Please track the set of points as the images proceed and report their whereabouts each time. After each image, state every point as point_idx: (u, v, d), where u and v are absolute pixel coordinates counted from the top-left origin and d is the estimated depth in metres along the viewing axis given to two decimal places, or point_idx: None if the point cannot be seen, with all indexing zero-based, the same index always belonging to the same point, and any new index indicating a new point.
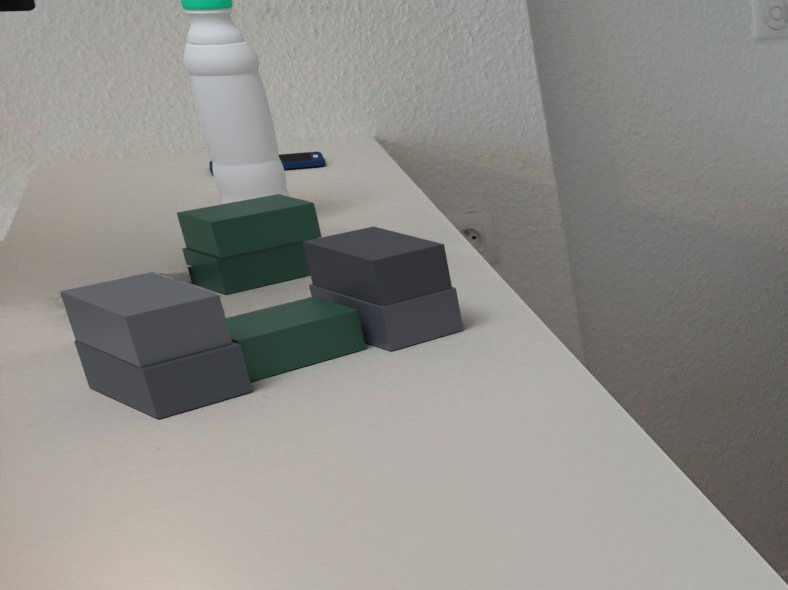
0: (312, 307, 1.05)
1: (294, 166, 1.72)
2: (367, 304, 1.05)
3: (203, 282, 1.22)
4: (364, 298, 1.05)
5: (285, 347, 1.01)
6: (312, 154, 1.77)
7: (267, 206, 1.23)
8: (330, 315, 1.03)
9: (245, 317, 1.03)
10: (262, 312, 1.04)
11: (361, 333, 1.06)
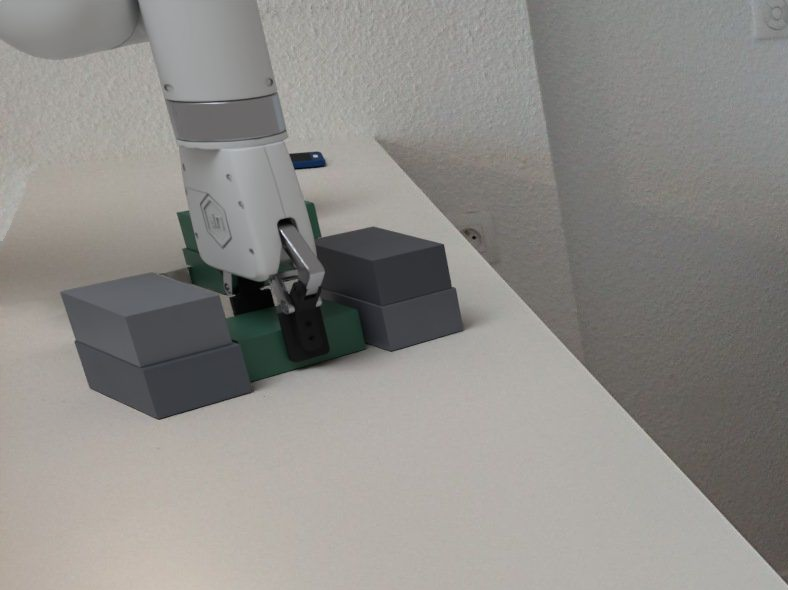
0: None
1: (294, 166, 1.72)
2: (367, 304, 1.05)
3: (203, 282, 1.22)
4: (364, 298, 1.05)
5: (285, 347, 1.01)
6: (312, 154, 1.77)
7: None
8: (330, 315, 1.03)
9: (245, 317, 1.03)
10: (262, 312, 1.04)
11: (361, 333, 1.06)
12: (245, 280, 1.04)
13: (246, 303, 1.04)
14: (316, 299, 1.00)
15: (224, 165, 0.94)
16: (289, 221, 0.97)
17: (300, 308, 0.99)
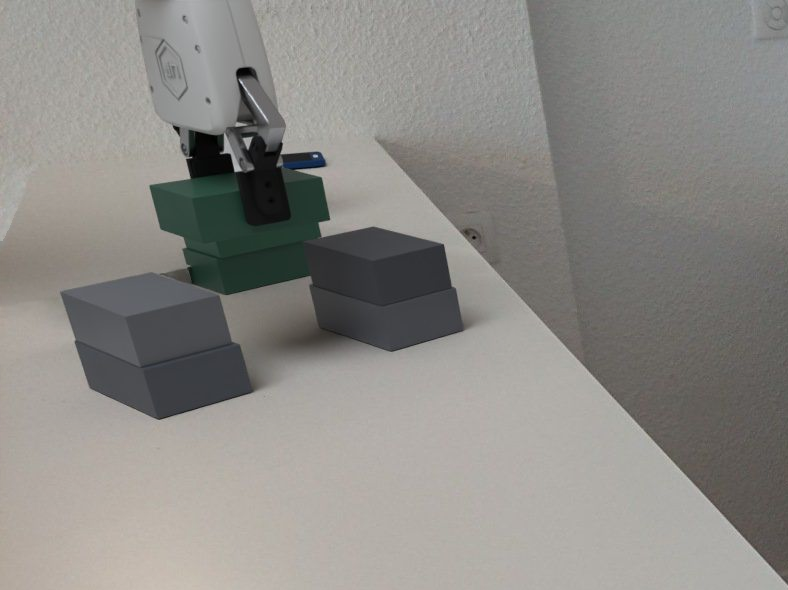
0: None
1: (294, 166, 1.72)
2: (367, 304, 1.05)
3: (203, 282, 1.22)
4: (364, 298, 1.05)
5: None
6: (312, 154, 1.77)
7: None
8: (293, 180, 0.98)
9: (202, 180, 0.98)
10: (221, 177, 0.99)
11: (325, 203, 1.01)
12: (203, 142, 0.99)
13: (204, 166, 0.99)
14: (277, 158, 0.95)
15: (180, 5, 0.89)
16: (249, 72, 0.92)
17: (259, 166, 0.94)
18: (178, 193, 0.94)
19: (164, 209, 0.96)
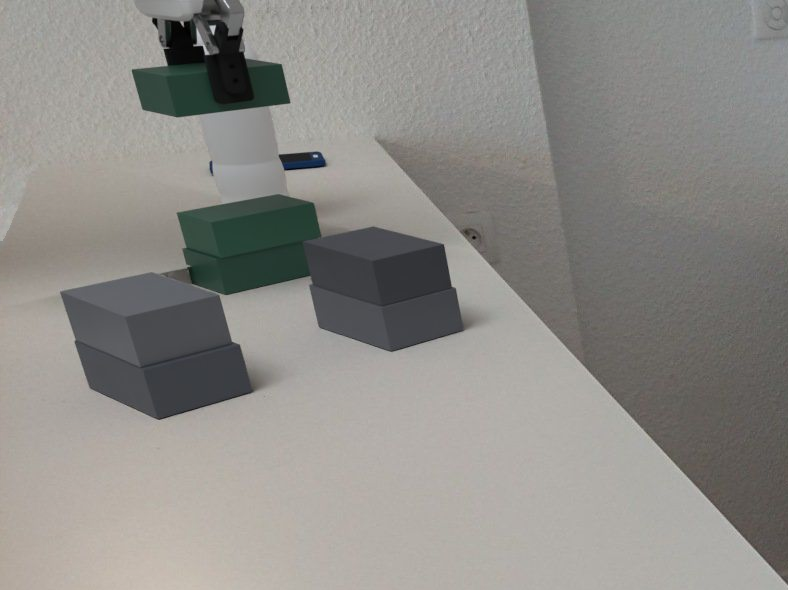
0: None
1: (294, 166, 1.72)
2: (367, 304, 1.05)
3: (203, 282, 1.22)
4: (364, 298, 1.05)
5: None
6: (312, 154, 1.77)
7: (267, 206, 1.23)
8: (256, 66, 1.13)
9: (178, 66, 1.13)
10: (194, 64, 1.14)
11: (285, 87, 1.15)
12: (179, 35, 1.14)
13: (179, 55, 1.13)
14: (239, 42, 1.09)
15: None
16: None
17: (224, 50, 1.09)
18: (155, 73, 1.08)
19: (144, 90, 1.11)
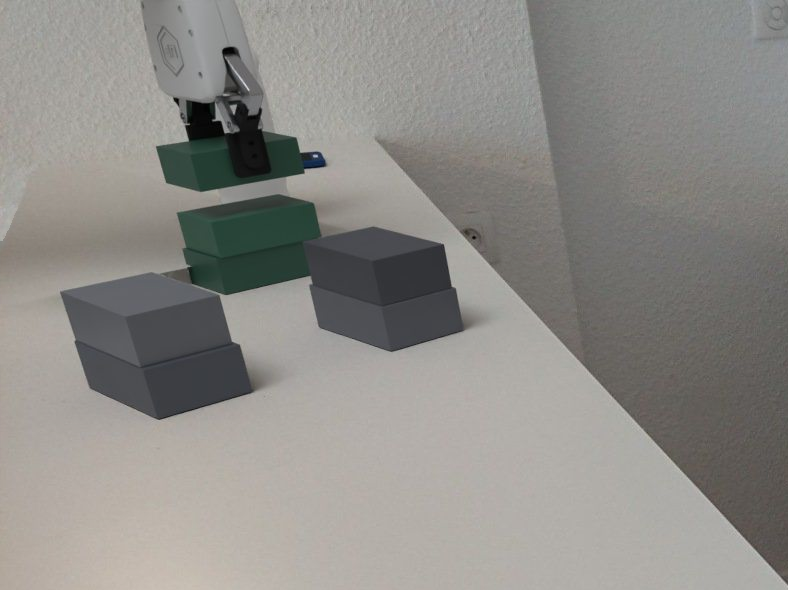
0: None
1: None
2: (367, 304, 1.05)
3: (203, 282, 1.22)
4: (364, 298, 1.05)
5: None
6: (312, 154, 1.77)
7: (267, 206, 1.23)
8: (272, 140, 1.20)
9: (199, 141, 1.20)
10: (214, 139, 1.21)
11: (300, 159, 1.22)
12: (198, 111, 1.21)
13: (199, 131, 1.21)
14: (257, 121, 1.16)
15: None
16: (233, 50, 1.14)
17: (244, 128, 1.16)
18: (179, 151, 1.16)
19: (168, 165, 1.18)
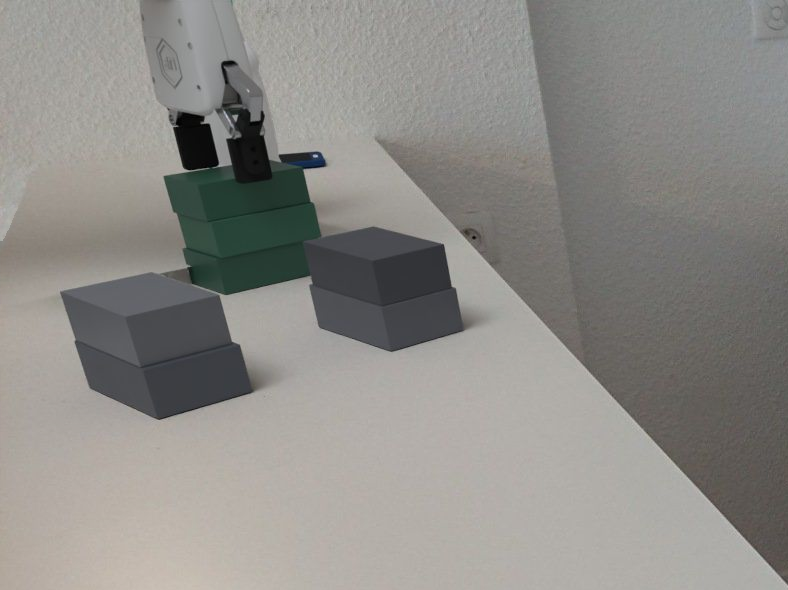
0: None
1: None
2: (367, 304, 1.05)
3: (203, 282, 1.22)
4: (364, 298, 1.05)
5: (239, 194, 1.19)
6: (312, 154, 1.77)
7: None
8: (279, 170, 1.21)
9: (206, 171, 1.21)
10: (221, 168, 1.22)
11: (306, 188, 1.24)
12: (187, 114, 1.21)
13: (187, 133, 1.21)
14: (260, 127, 1.15)
15: (176, 11, 1.11)
16: None
17: (246, 134, 1.15)
18: (186, 181, 1.17)
19: (176, 195, 1.19)
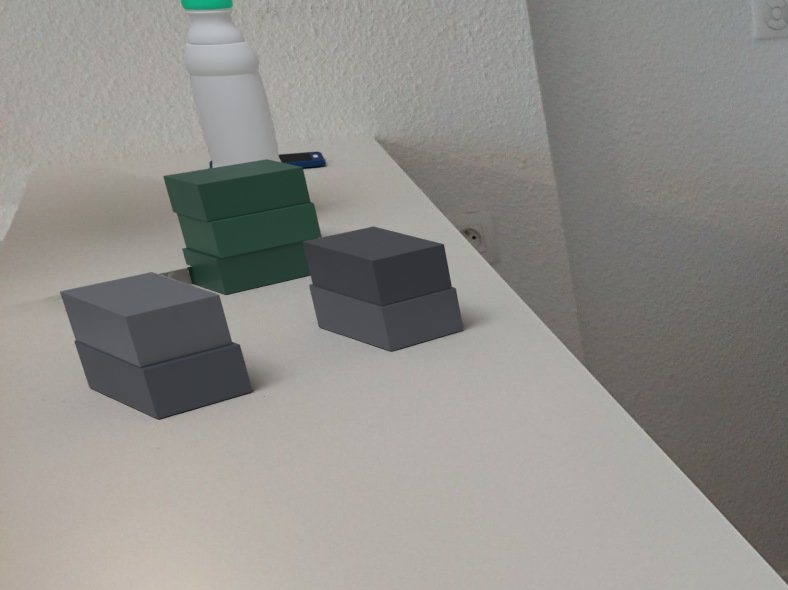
0: (264, 165, 1.23)
1: None
2: (367, 304, 1.05)
3: (203, 282, 1.22)
4: (364, 298, 1.05)
5: (239, 194, 1.19)
6: (312, 154, 1.77)
7: None
8: (279, 170, 1.21)
9: (206, 171, 1.21)
10: (221, 168, 1.22)
11: (306, 188, 1.24)
12: None
13: None
14: None
15: None
16: None
17: None
18: (186, 181, 1.17)
19: (176, 195, 1.19)
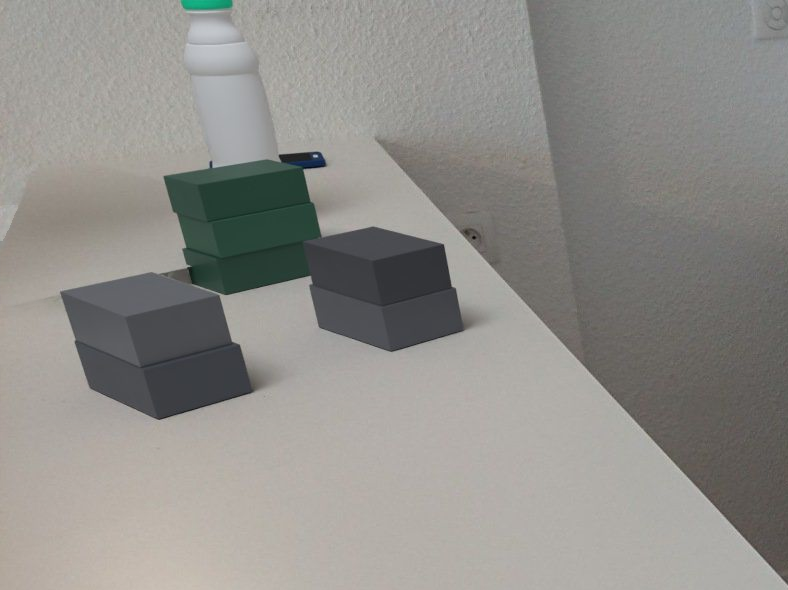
0: (264, 165, 1.23)
1: None
2: (367, 304, 1.05)
3: (203, 282, 1.22)
4: (364, 298, 1.05)
5: (239, 194, 1.19)
6: (312, 154, 1.77)
7: None
8: (279, 170, 1.21)
9: (206, 171, 1.21)
10: (221, 168, 1.22)
11: (306, 188, 1.24)
12: None
13: None
14: None
15: None
16: None
17: None
18: (186, 181, 1.17)
19: (176, 195, 1.19)
